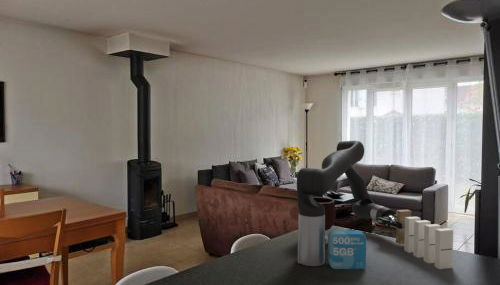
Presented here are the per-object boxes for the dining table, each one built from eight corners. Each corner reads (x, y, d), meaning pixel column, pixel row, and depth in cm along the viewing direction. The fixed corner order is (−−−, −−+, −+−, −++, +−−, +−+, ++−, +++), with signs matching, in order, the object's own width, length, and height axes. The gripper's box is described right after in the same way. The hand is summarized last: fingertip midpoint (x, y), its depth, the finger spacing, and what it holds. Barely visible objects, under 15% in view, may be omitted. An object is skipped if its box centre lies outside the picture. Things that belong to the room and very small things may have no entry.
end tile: (434, 266, 128) (435, 229, 127) (447, 265, 129) (447, 228, 128) (439, 269, 126) (440, 231, 125) (452, 267, 127) (453, 230, 126)
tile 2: (404, 250, 144) (405, 217, 143) (415, 249, 145) (416, 216, 144) (408, 252, 142) (409, 218, 141) (419, 251, 143) (420, 218, 142)
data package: (330, 269, 126) (330, 234, 125) (327, 264, 131) (328, 230, 130) (366, 269, 126) (366, 234, 125) (362, 264, 130) (362, 230, 130)
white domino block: (423, 260, 133) (424, 224, 133) (435, 259, 134) (436, 223, 134) (428, 263, 131) (429, 226, 130) (440, 262, 132) (441, 225, 131)
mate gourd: (342, 240, 156) (342, 193, 155) (321, 247, 147) (321, 197, 146) (313, 232, 168) (313, 188, 167) (292, 238, 159) (292, 192, 158)
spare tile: (395, 242, 149) (396, 210, 149) (406, 241, 150) (407, 209, 150) (399, 244, 147) (400, 211, 146) (410, 243, 148) (411, 210, 147)
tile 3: (413, 255, 139) (414, 220, 138) (425, 254, 140) (426, 220, 139) (417, 257, 136) (418, 222, 136) (429, 256, 137) (430, 221, 137)
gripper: (368, 207, 160) (391, 217, 144) (397, 206, 164) (424, 215, 147) (368, 225, 161) (391, 236, 144) (397, 222, 164) (423, 234, 147)
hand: (407, 226), depth 146 cm, fingers closed on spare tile, 5 cm apart
